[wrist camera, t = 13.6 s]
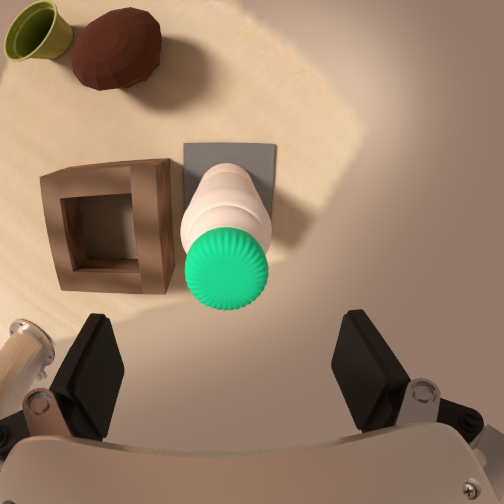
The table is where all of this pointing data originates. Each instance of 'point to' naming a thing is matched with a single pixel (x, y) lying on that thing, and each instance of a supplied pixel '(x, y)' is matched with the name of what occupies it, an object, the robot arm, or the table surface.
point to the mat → (242, 154)
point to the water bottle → (226, 239)
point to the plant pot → (38, 33)
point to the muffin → (117, 49)
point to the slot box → (145, 223)
